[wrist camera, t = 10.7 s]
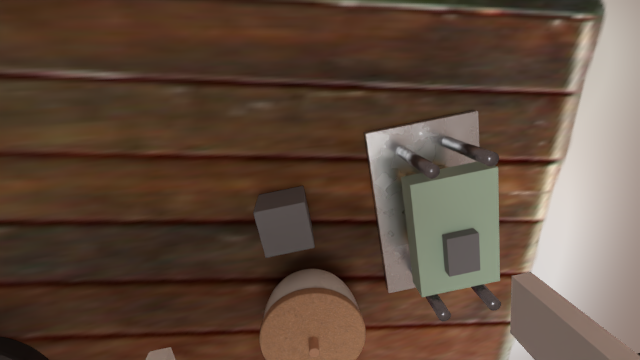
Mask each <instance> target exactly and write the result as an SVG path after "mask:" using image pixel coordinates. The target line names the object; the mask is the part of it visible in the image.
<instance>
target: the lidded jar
mask: <svg viewBox="0 0 640 360" xmlns="http://www.w3.org/2000/svg"><path fill="white" fill-rule="evenodd" d="M365 338H366V329H365V324H364V320H363V317H362V315H361V312H360V311H359V308H358V305H357V303H356V300H355V298H354V296H353V294H352V293H351V291H350V290H349V288H348V287H347V285H346V284H345V283H344V282H343V281H342V280H340V279H339V278H338V277H337V276H335V275H334V274H332V273H330V272H327V271H324V270H320V269H304V270H300V271H297V272H294V273H292V274H290V275H288V276H287V277H286V278H284V279H283V280H282V281H281V282H280V283H279V284H278V285H277V286H276V287H275V289H274V290H273V292H272V294H271V296H270V298H269V300H268V302H267V305H266V308H265V312H264V316H263V321H262V324H261V328H260V337H259V342H260V348H261V351H262V354H263V356H264V358H265V359H266V360H356V359H357V357H358V356H359V354H360V353H361V351H362V349H363V346H364V343H365Z"/></svg>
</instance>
